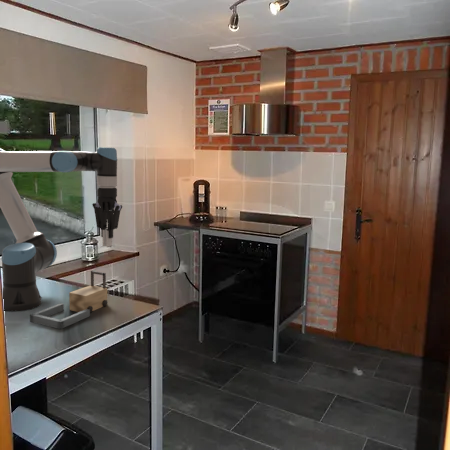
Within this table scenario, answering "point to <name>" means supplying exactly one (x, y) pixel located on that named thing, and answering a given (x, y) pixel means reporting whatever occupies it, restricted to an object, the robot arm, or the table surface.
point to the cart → (89, 296)
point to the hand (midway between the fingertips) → (107, 245)
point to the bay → (43, 319)
